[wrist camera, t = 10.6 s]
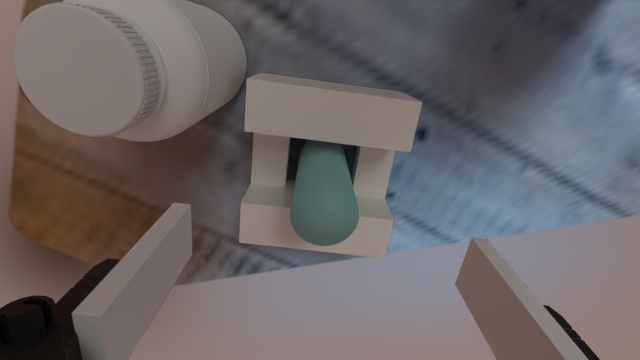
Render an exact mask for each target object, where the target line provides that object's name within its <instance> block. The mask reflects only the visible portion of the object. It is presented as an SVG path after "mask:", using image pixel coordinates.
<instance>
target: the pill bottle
mask: <svg viewBox="0 0 640 360" xmlns="http://www.w3.org/2000/svg"><path fill="white" fill-rule="evenodd" d="M12 54H13V64H14V69H15V73H16V76H17V79H18V81H19V83H20V86H21V88H22V89H23V91H24V93H25V94H26V96H27V97H28V99H29V100H30V102H31V103H32V104H33V105H34V106H35V107H36V109H37V110H38V111H39V112H40V113H41V114H43V115H44V116H45V117H46V118H47V119H49V120H50V121H51V122H53V123H54V124H56V125H58V126H59V127H61V128H63V129H65V130H67V131H70V132H73V133H75V134H79V135H81V136H86V137H94V138H96V137H98V138H102V137H109V136H114V137H117V138H121V139H125V140H130V141H139V142H152V141H160V140H164V139H167V138H170V137H173V136H175V135H177V134H179V133H181V132H183V131H184V130H186V129H187V128H189V127H191V126H192V125H194V124H195V123H197V122H198V121H200V120H201V119H203V118H204V117H206V116H208V115H209V114H211V113H212V112H214V111H215V110H217V109H218V108H220V107H222V106H223V105H225V104H226V103H228V102H229V101H230V100H231V99H232V98H233V97H234V96H235V95H236V94H237V93H238V91H239V90H240V88H241V86H242V84H243V81H244V79H245V75H246V68H247V61H246V53H245V49H244V46H243V43H242V41H241V39H240V37H239V35H238V33H237V32H236V30H235V29H234V28H233V26H232V25H231V24H230V23H229V22H228V21H227V20H226V19H225V18H224V17H222V16H221V15H220V14H218V13H217V12H215V11H213V10H211V9H209V8H207V7H204V6H201V5H198V4H195V3H193V2H190V1H187V0H64V1H63V2H58V3H51V4H47V5H45V6H41V7H39V9H35V10H34V11H33V12H31V13H30V14H29V15H28V16H27V17H26V18H25V19H24V20H23V21H22V23H21V24H20V26H19V28H18V30H17V32H16V34H15V38H14V42H13V51H12Z"/></svg>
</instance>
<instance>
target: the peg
mask: <svg viewBox="0 0 640 360" xmlns="http://www.w3.org/2000/svg"><path fill="white" fill-rule="evenodd" d="M290 221H291V225H292V227H293V229H294V231H295V232H296V233H297V235H298V236H299V237H300V238H302V239H303V240H305V241H306V242H308V243H311V244H314V245H319V246H330V245H335V244H338V243H340V242H342V241H344V240H345V239H347V238H348V237H349V236H350V235H351V234H352V233H353V232H354V230H355V229H356V227H357V224H358V221H359V209H358V205H357V201H356V197H355V193H354V189H353V185H352V181H351V177H350V173H349V169H348V165H347V161H346V157H345V153H344V149H343V146H342V144H340V143H332V142H324V141H316V140H308V139H307V140H306V141H305V142H304V144H303V145H302V148H301V152H300V158H299V164H298V169H297V175H296V181H295V187H294V192H293V198H292V204H291V210H290Z"/></svg>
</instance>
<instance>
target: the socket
mask: <svg viewBox="0 0 640 360" xmlns="http://www.w3.org/2000/svg"><path fill="white" fill-rule="evenodd" d="M422 103H423V102H421V101H419V100H417V99H415V98H413V97H411V96H409V95H407V94H405V93H403V92H400V91H393V90H385V89H378V88H370V87H363V86H356V85H348V84H341V83H334V82H326V81H319V80H312V79H304V78H297V77H289V76H282V75H275V74H267V73H259V74H257V75H254V76H252V77H250V78H247V84H246V105H245V126H244V131H245V132H253V133H254V137H253V154H252V172H251V184H250V186H249V188H248V190H247V192H246V194H245V195H244V197H243V199H242V201H241V211H240V232H239V243H247V244H256V245H265V246H274V247H284V248H293V249H302V250H311V251H320V252H329V253H339V254H348V255H357V256H366V257H375V258H384V259H385V256H386V252H387V248H388V244H389V240H390V236H391V231H392V227H393V223H394V219H393V216H392V214H391V212H390V210H389V207H388V205H387V203H386V201H385V195H386V191H387V186H388V182H389V177H390V173H391V168H392V164H393V159H394V155H395V151H403V152H411V148H412V144H413V140H414V136H415V132H416V128H417V123H418V119H419V115H420V111H421V107H422ZM291 137H293V138H301V139H308V140H316V141H324V142H332V143H340V144H348V145H356V146H357V149H356V154H355V160H354V166H353V171H352V177H351V181H352V185H353V189H354V193H355V197H356V201H357V205H358V209H359V221H358V224H357V227H356V229H355V230H354V232H353V233H352V234H351V235H350V236H349V237H348V238H347V239H345V240H344V241H342V242H340V243H338V244H335V245H330V246H319V245H314V244H311V243H308V242H306V241H305V240H303V239H302V238H300V237H299V236H298V235H297V233H296V232H295V231H294V229H293V227H292V225H291V221H290V210H291V204H292V198H293V192H294V187H295V181H296V180H293V179H287V172H288V163H289V153H290V143H291Z"/></svg>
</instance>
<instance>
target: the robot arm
mask: <svg viewBox="0 0 640 360" xmlns="http://www.w3.org/2000/svg"><path fill="white" fill-rule="evenodd" d="M191 256H192V223H191V204H183V203H173V204H172V205H171V206H170V207H169V208H168V210H167V211H166V212H165V213H164V214H163V215H162V216H161V217H160V218H159V219H158V220H157V221H156V223H155V224H154V225H153V226H152V227H151V228H150V229H149V230H148V231H147V232H146V233H145V234H144V236H143V237H142V238H141V239H140V240H139V241H138V242H137V243H136V244H135V245H134V246H133V247H132V249H131V250H130V251H129V252H128V253H127V254H126V255H125V256H124V257H123V258H122V259H121V260H118V259H109V258H108V259H107V260H105V261H103V262H101V263H99V264H98V265H96V266H94V267H93V268H92V269H91V270H90V271H89V272H88V273H87V274H86V275H85V276H84V277H83V279H81V280H80V281H79V282H78V283H77V284H75V286H74V288H71V289H70V290H69V292H67V293H66V294H65V295H64V296H63V297H62V298H61V299H60V300H59V301H58V302H57V303H56V304H55V302H54V301H53V299H52V298H49V297H47V296H30V297H25V298H21V299H18V300H16V301H13V302H10V303H9V304H7V305H5V306H4V307H2V308H0V360H128V359H129V357H130V356H131V354H132V352H133V351H134V349H135V348H136V346H137V344H138V343H139V341H140V339H141V338H142V336H143V334H144V333H145V331H146V330H147V328H148V326H149V325H150V323H151V321H152V320H153V318H154V316H155V315H156V313H157V312H158V310H159V308H160V307H161V305H162V303H163V302H164V300H165V298H166V297H167V295H168V294H169V292H170V290H171V289H172V287H173V285H174V284H175V282H176V280H177V279H178V277H179V276H180V274H181V272H182V271H183V269H184V267H185V266H186V264H187V262H188V261H189V259H190V258H191ZM455 285H456V286H457V288H458V290H459V292H460V294H461V295H462V297H463V299H464V301H465V303H466V305H467V306H468V308H469V310H470V312H471V313H472V315H473V317H474V319H475V321H476V323H477V324H478V326H479V328H480V330H481V332H482V334H483V335H484V337H485V339H486V341H487V343H488V345H489V346H490V348H491V350H492V352H493V353H494V355H495V357H496V359H497V360H600V359H599V358H598V357H597V356H596V355H595V353H594V352H593V351H592V350H591V349H590V348H589V347H588V346H587V344H586V343H585V342H584V341H583V340H581V338H580V336H579V335H578V334H577V333H576V332H575V331H574V330H572V327H571V326H570V325H569V324H568V323H567V321H566V320H565V319H564V318H563V317H562V316H561V315H560V314H558V313H557V312H556V311H554V310H553V309H552V308H550V307H549V306H546V305H542V304H541V302H540V301H539V300H538V299H537V298H536V296H535V295H534V294H533V293H532V292H531V291H530V289H529V288H528V287H527V286H526V285H525V284H524V282H523V281H522V280H521V279H520V277H519V276H518V275H517V274H516V273H515V271H514V270H513V269H512V268H511V267H510V265H509V264H508V263H507V262H506V261H505V260H504V258H503V257H502V256H501V255H500V254H499V252H498V251H497V250H496V249H495V248H494V246H493V245H492V244H491V243H490V242H489V240H488V239H480V238H472V239H471V241H470V244H469V247H468V250H467V253H466V256H465V258H464V261H463V264H462V267H461V269H460V272H459V275H458V278H457V280H456V283H455Z"/></svg>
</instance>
